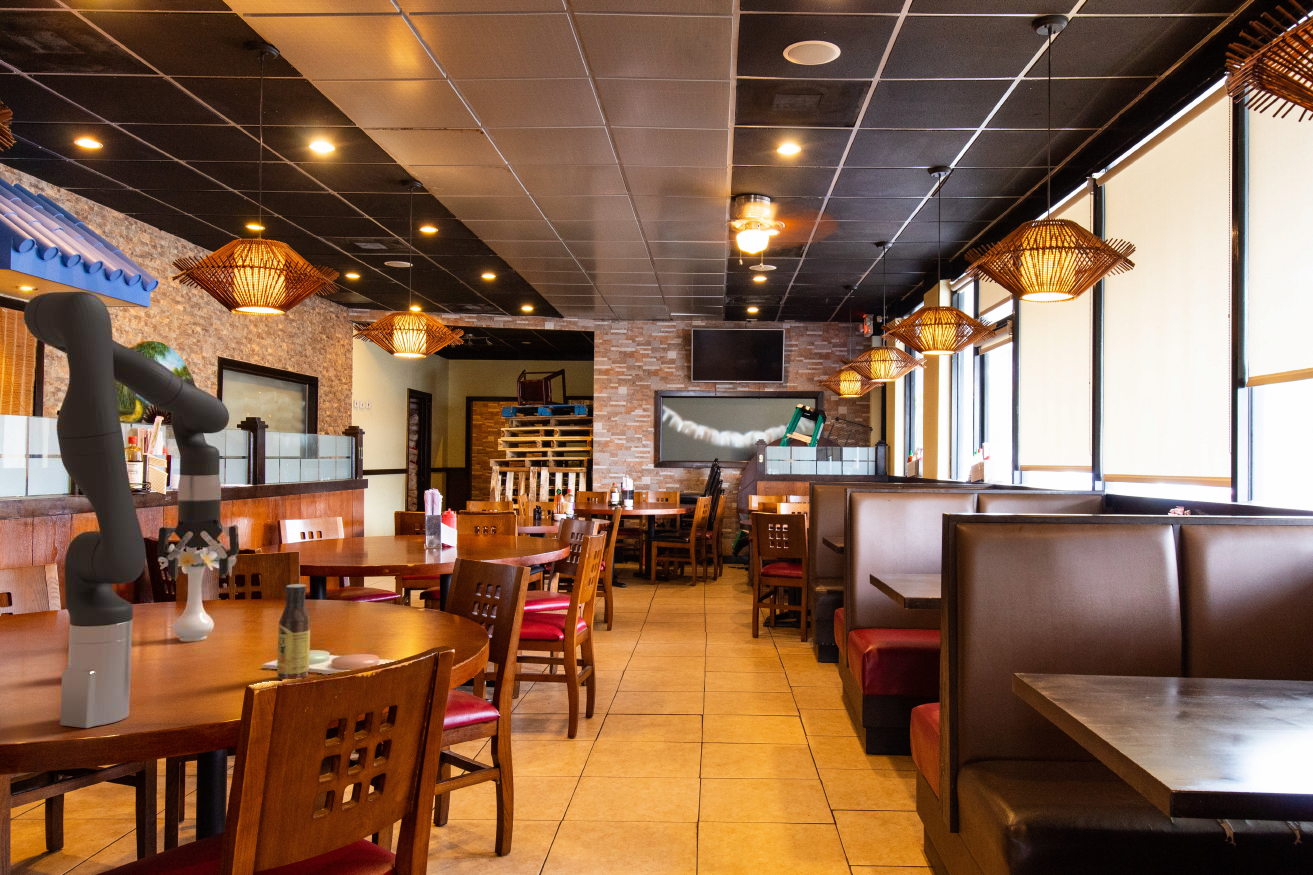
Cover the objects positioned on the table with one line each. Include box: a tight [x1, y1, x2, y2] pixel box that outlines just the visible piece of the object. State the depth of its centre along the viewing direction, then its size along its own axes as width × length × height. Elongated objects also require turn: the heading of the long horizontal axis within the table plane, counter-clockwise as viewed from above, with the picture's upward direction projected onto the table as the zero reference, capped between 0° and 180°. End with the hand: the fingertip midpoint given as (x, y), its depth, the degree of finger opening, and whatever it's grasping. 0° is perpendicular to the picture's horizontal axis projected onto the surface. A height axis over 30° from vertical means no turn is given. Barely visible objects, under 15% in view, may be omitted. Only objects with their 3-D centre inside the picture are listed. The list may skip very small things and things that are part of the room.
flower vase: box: [157, 543, 238, 643], centre depth 211 cm, size 13×18×25 cm
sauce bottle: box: [276, 583, 311, 681], centre depth 173 cm, size 6×6×20 cm
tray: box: [262, 649, 397, 675], centre depth 183 cm, size 12×26×2 cm, turn 75°
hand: (198, 577), depth 163 cm, fingers open, 8 cm apart
